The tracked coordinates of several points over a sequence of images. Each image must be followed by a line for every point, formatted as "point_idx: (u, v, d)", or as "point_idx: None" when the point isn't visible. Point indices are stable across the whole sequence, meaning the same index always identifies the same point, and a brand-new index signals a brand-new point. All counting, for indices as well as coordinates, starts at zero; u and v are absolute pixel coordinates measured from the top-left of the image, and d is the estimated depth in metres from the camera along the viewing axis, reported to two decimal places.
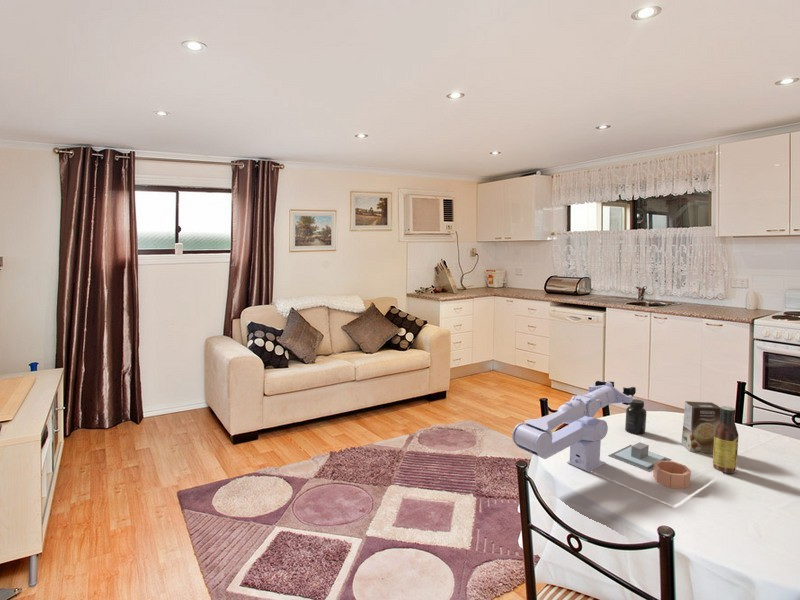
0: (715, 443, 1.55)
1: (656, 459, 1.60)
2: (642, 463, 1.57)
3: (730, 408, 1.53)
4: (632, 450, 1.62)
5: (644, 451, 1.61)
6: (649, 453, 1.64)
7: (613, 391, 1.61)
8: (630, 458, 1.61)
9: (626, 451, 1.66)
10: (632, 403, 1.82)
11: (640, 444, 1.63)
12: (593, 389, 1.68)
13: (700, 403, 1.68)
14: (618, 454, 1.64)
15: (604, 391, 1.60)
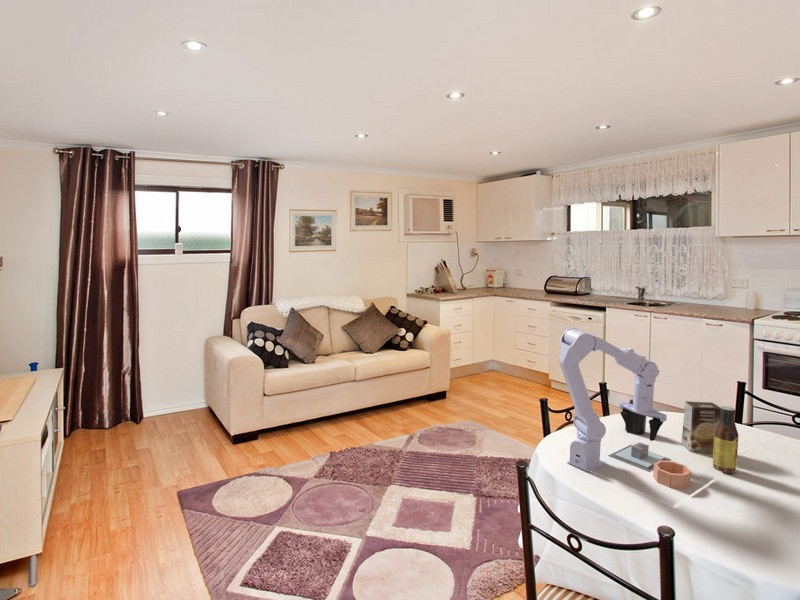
0: (715, 443, 1.55)
1: (656, 459, 1.60)
2: (642, 463, 1.57)
3: (730, 408, 1.53)
4: (632, 450, 1.62)
5: (644, 451, 1.61)
6: (649, 453, 1.64)
7: None
8: (630, 458, 1.61)
9: (626, 451, 1.66)
10: (632, 403, 1.82)
11: (640, 444, 1.63)
12: None
13: (700, 403, 1.68)
14: (618, 454, 1.64)
15: None
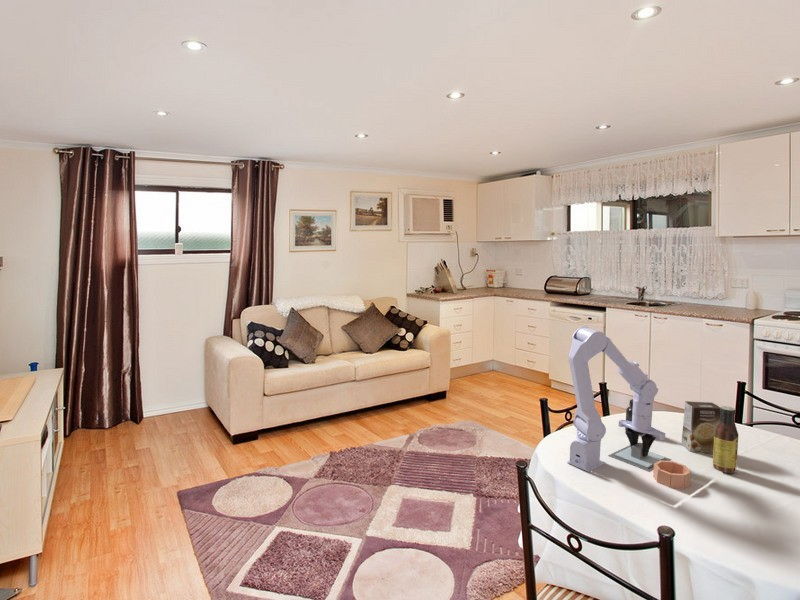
0: (715, 443, 1.55)
1: (656, 459, 1.60)
2: (642, 463, 1.57)
3: (730, 408, 1.53)
4: (632, 450, 1.62)
5: None
6: (649, 453, 1.64)
7: None
8: (630, 458, 1.61)
9: (626, 451, 1.66)
10: (632, 403, 1.82)
11: (640, 444, 1.63)
12: None
13: (700, 403, 1.68)
14: (618, 454, 1.64)
15: None
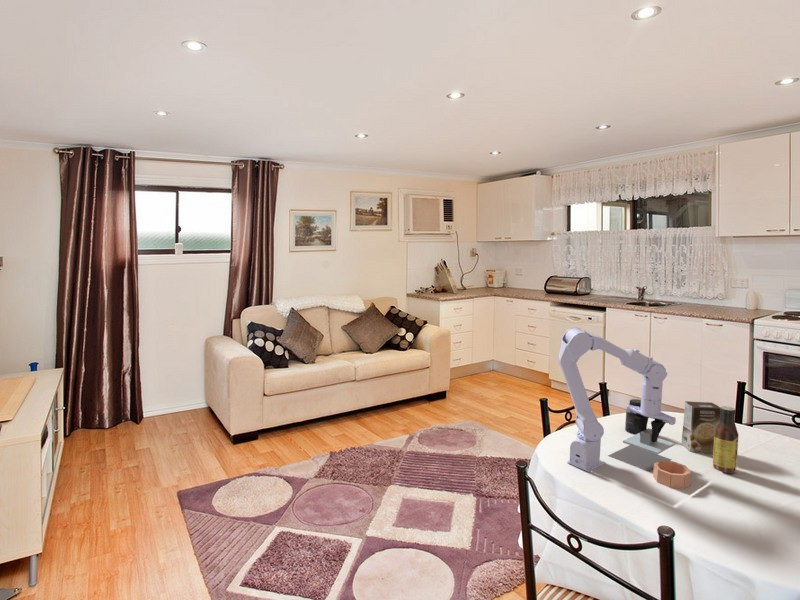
0: (715, 443, 1.55)
1: (666, 445, 1.56)
2: (652, 449, 1.53)
3: (730, 408, 1.53)
4: (641, 436, 1.57)
5: None
6: (658, 439, 1.60)
7: None
8: (639, 444, 1.56)
9: (634, 437, 1.61)
10: (632, 403, 1.82)
11: (649, 430, 1.59)
12: None
13: (700, 403, 1.68)
14: (626, 440, 1.59)
15: None
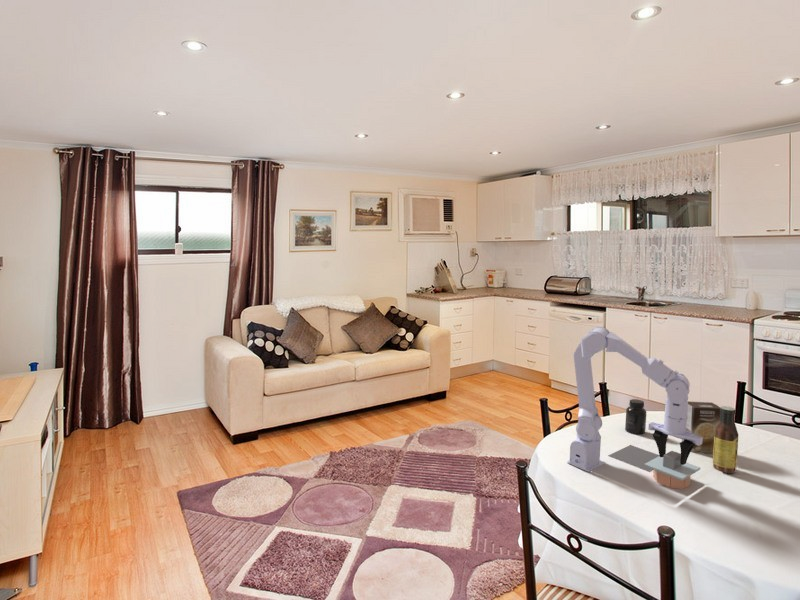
0: (715, 443, 1.55)
1: (691, 469, 1.45)
2: (676, 474, 1.42)
3: (730, 408, 1.53)
4: (664, 459, 1.47)
5: (678, 461, 1.46)
6: None
7: None
8: (662, 468, 1.46)
9: (657, 460, 1.51)
10: (632, 403, 1.82)
11: (673, 453, 1.48)
12: None
13: (700, 403, 1.68)
14: (648, 464, 1.48)
15: None
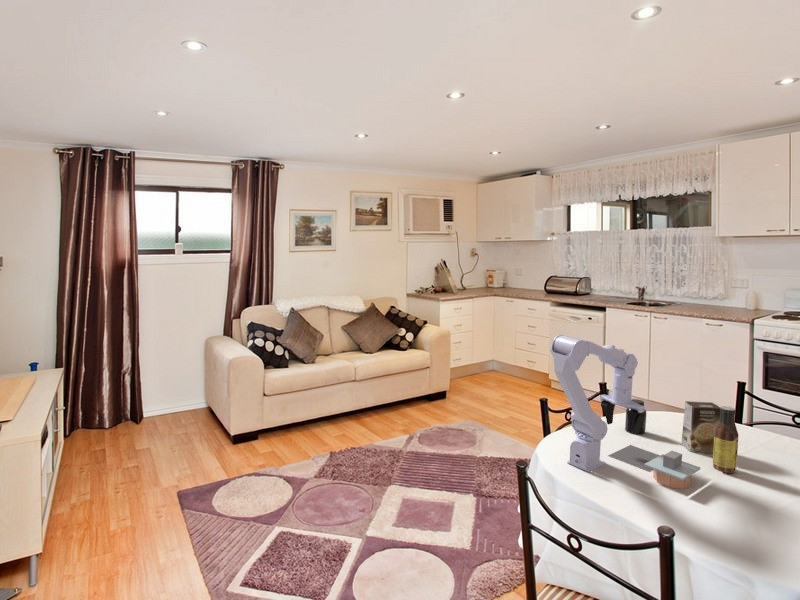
0: (715, 443, 1.55)
1: (691, 469, 1.45)
2: (676, 474, 1.42)
3: (730, 408, 1.53)
4: (664, 459, 1.47)
5: (678, 461, 1.46)
6: (682, 463, 1.49)
7: None
8: (662, 468, 1.46)
9: (657, 460, 1.51)
10: None
11: (673, 453, 1.48)
12: None
13: (700, 403, 1.68)
14: (648, 464, 1.48)
15: None
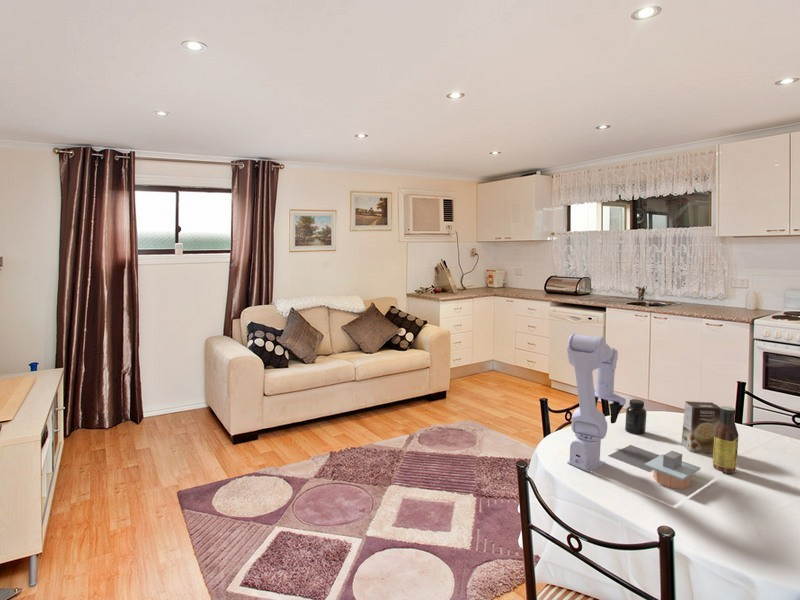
0: (715, 443, 1.55)
1: (691, 469, 1.45)
2: (676, 474, 1.42)
3: (730, 408, 1.53)
4: (664, 459, 1.47)
5: (678, 461, 1.46)
6: (682, 463, 1.49)
7: None
8: (662, 468, 1.46)
9: (657, 460, 1.51)
10: (632, 403, 1.82)
11: (673, 453, 1.48)
12: None
13: (700, 403, 1.68)
14: (648, 464, 1.48)
15: None
